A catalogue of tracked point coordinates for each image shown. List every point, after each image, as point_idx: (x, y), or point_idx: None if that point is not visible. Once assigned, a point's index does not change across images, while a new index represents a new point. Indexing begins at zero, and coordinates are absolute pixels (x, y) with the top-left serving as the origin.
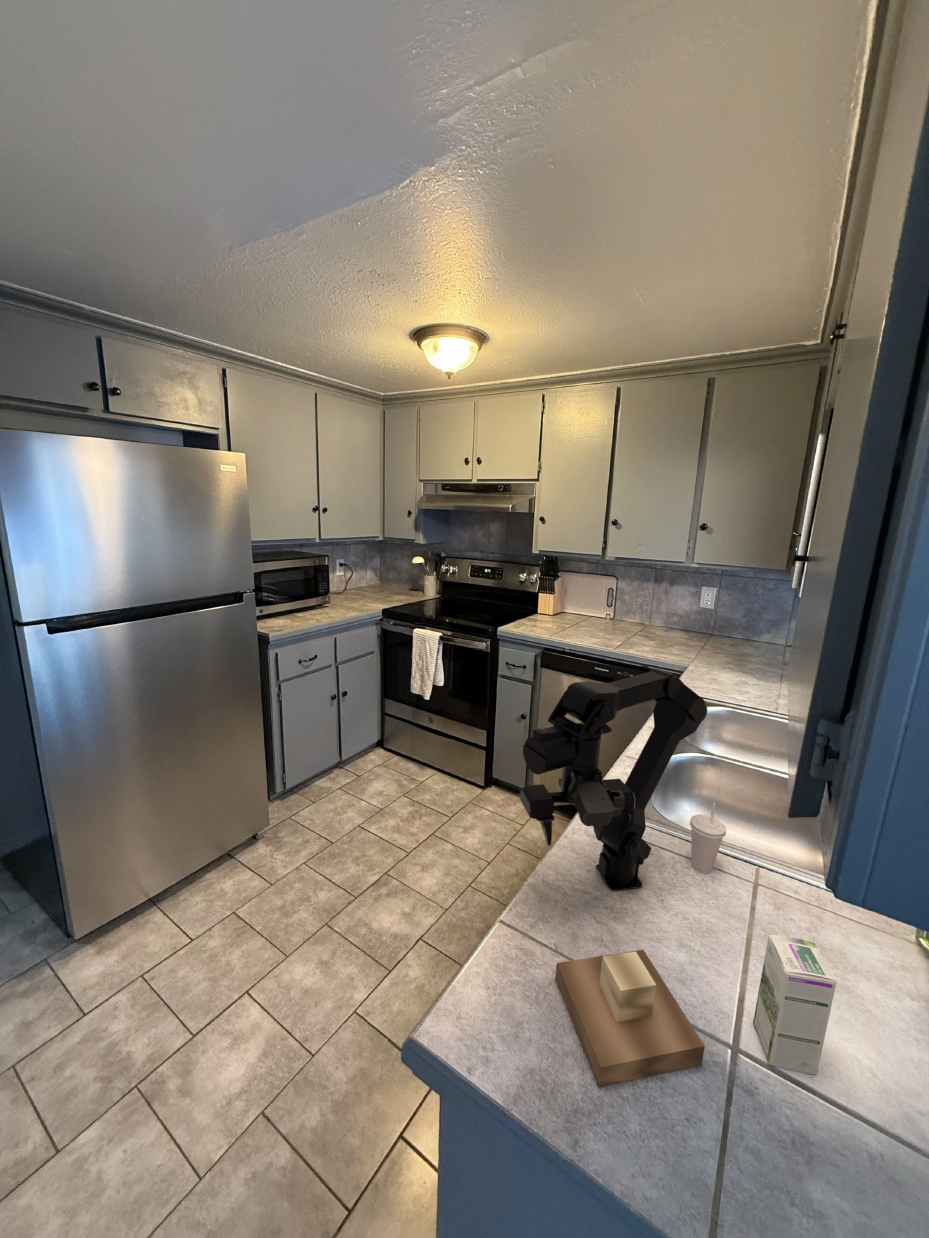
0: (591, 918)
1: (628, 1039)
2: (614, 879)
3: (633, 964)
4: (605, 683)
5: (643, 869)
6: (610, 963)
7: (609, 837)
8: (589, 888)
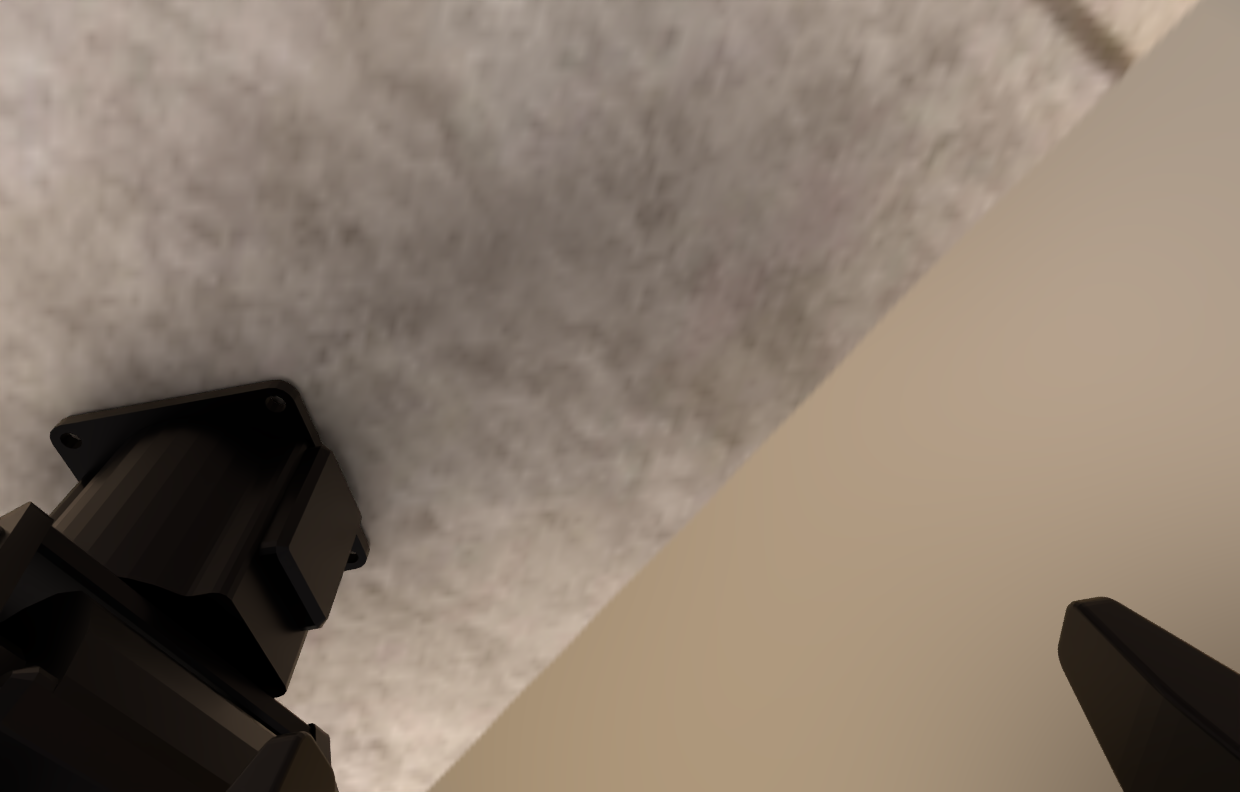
0: (478, 132)
1: None
2: (250, 450)
3: None
4: None
5: None
6: None
7: (161, 774)
8: (442, 394)
